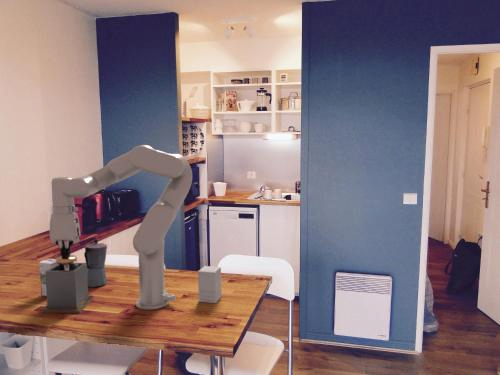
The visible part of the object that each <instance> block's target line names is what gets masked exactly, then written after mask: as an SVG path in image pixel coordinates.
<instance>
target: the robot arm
mask: <svg viewBox="0 0 500 375" xmlns="http://www.w3.org/2000/svg"><path fill="white" fill-rule="evenodd" d="M140 172H147V173H150V174H154V175H157V176H159V177H164V178H168V179H169V180H168V182H167V184H166V186H165V187H164V189H163V191H162V193H161V195H160V196H159V198H158V200H157V201H156V202H155V203H154V204H153V205H152V206H151V207H150V208H149V209H148V211H147V213H146V214H145V216H144V218H143V219H142V221H141V224H140V225H139V227H138V228H137V230H136V232H135V234H134V236H133V237H132V245H133V248H134V250H135V251H136V253H138V282H139V283H138V284H139V285H138V286H139V288H138V290H139V298H137V300H136V301H135V306H136V308H138V309H140V310H145V311H146V310H147V311H151V310H158V309H163V308H164V307H166V306H168V305H169V303H170V301H176V300H177V297H176V296H177V295H175V294H174V293H168V292H167V291H168V290H167V289H166V288H165V236H166V235H167V233H168V231H169V229H170V227H171V226H172V224H173V222H174V221H175V219H176V217H177V214H178V212H179V210H180V209H181V207H182V205H183V204H184V201H185V199H186V198H187V195H188V194H189V191H190V189H191V186H192V183H193V170H192V168H191V165H190V163H189V161H188V160H187V158H185V157H184V156H183V155H181V154H180V153H168V152H164V151H161V150H157V149H154V148H153V147H152V146H150V145H147V144H141V145H140V144H139V145H136V146H134V147H133V148H132V149H131V150H130V151H128V152H126V153H123V154H121V155H120V156H117V157H115V158H113V159H111V160H109V162H108V163H107V164H106V165H105V166H103V167H101V168H99V169H98V170H96V171H94V172H92V173H89V174H87V175H84V176H81V177H76V178H73V177H68V176H58V177H53V178H52V179H51V199H52V213H51V214H50V218H49V219H50V220H49V238H50V243H51V244H56V245H57V246H58V248H59V249H60V256H62V259H64V258H65V259H67V258H68V257H69V256H70V255H71V247H72V246H73V245H75V244H78V243H80V241H81V240H80V237H81V226H80V220H79V216H78V211H79V207H77V206H76V205H75V198H77V199H84V198H86V197H89V196H91V195H94V194H95V193H98V192H99V191H102V190H104V189H105V188H108V187H110V186H112V185H113V184H117V183H120V182H122V181H124V180H127V179H128V178H130V177H133V176H135V175H137V174H138V173H140Z"/></svg>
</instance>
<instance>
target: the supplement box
mask: <svg viewBox="0 0 500 375" xmlns="http://www.w3.org/2000/svg"><path fill="white" fill-rule="evenodd" d="M197 273H198V274H197V280H198V281H197V282H198V286H197V287H198V302H201V303H210V304H216V303H217V302H218V301H219V300H221V298H222V267H221V266H211V265H210V266H209V265H205V266H203V267H201V268H200V269H199V270H197Z"/></svg>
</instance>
